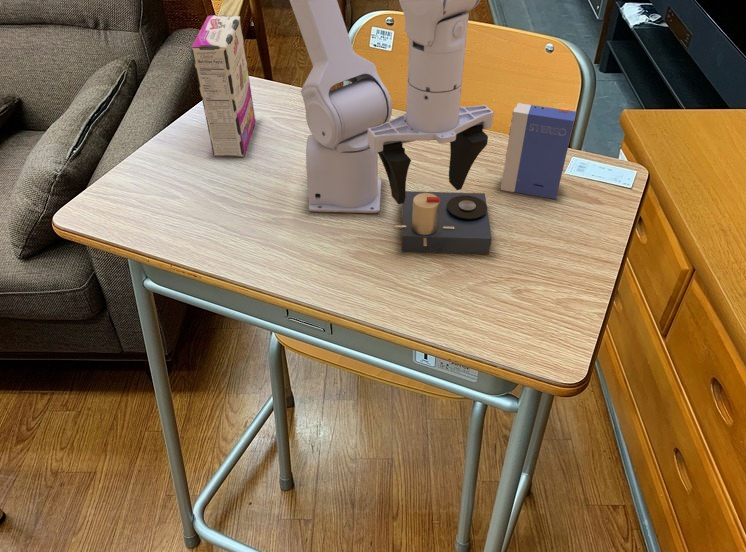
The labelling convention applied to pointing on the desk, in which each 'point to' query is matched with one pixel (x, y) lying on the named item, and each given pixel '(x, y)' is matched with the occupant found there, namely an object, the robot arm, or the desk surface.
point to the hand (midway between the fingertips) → (427, 192)
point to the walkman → (537, 149)
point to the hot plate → (446, 229)
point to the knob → (425, 213)
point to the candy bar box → (224, 84)
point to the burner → (466, 208)
